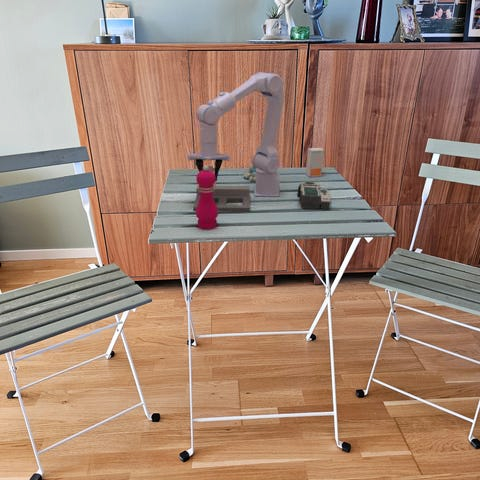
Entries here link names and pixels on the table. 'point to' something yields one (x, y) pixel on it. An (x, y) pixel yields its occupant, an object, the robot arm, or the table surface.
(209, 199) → the pepper mill
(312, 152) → the skincare box
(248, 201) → the socket panel
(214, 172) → the plug
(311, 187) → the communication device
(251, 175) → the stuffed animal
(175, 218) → the table surface
